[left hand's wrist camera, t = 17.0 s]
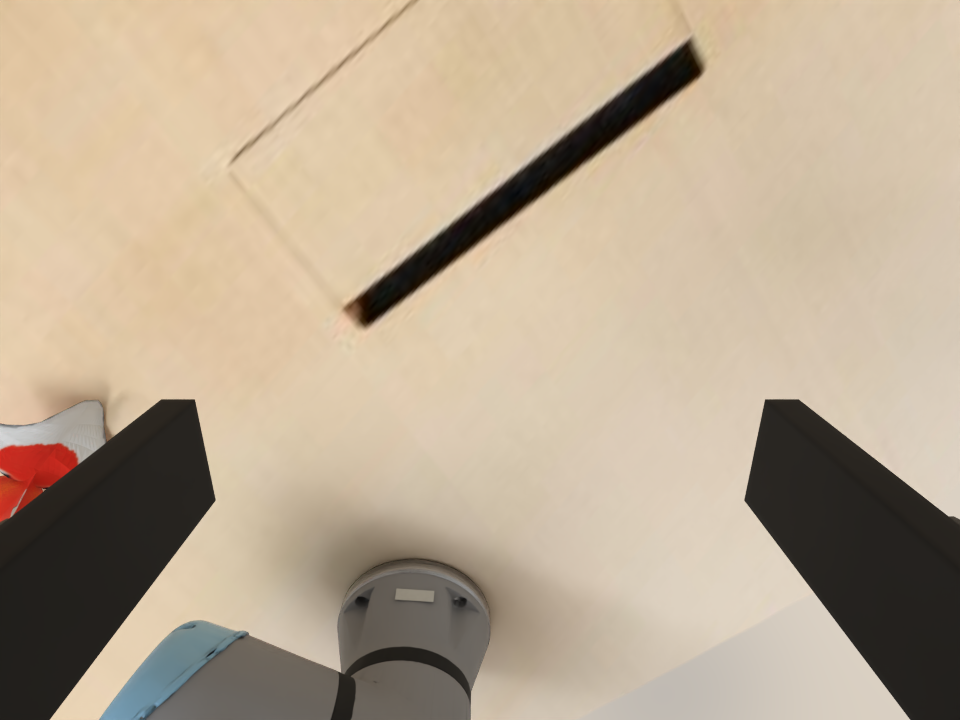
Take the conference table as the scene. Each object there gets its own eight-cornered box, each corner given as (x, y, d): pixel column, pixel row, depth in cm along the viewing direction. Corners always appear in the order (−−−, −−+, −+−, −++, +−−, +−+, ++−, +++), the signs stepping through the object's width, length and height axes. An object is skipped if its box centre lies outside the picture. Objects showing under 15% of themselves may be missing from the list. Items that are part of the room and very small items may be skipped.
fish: (-117, 461, 44) (-163, 539, 37) (63, 345, 48) (56, 395, 40) (3, 529, 51) (-14, 607, 43) (154, 423, 54) (162, 477, 47)
